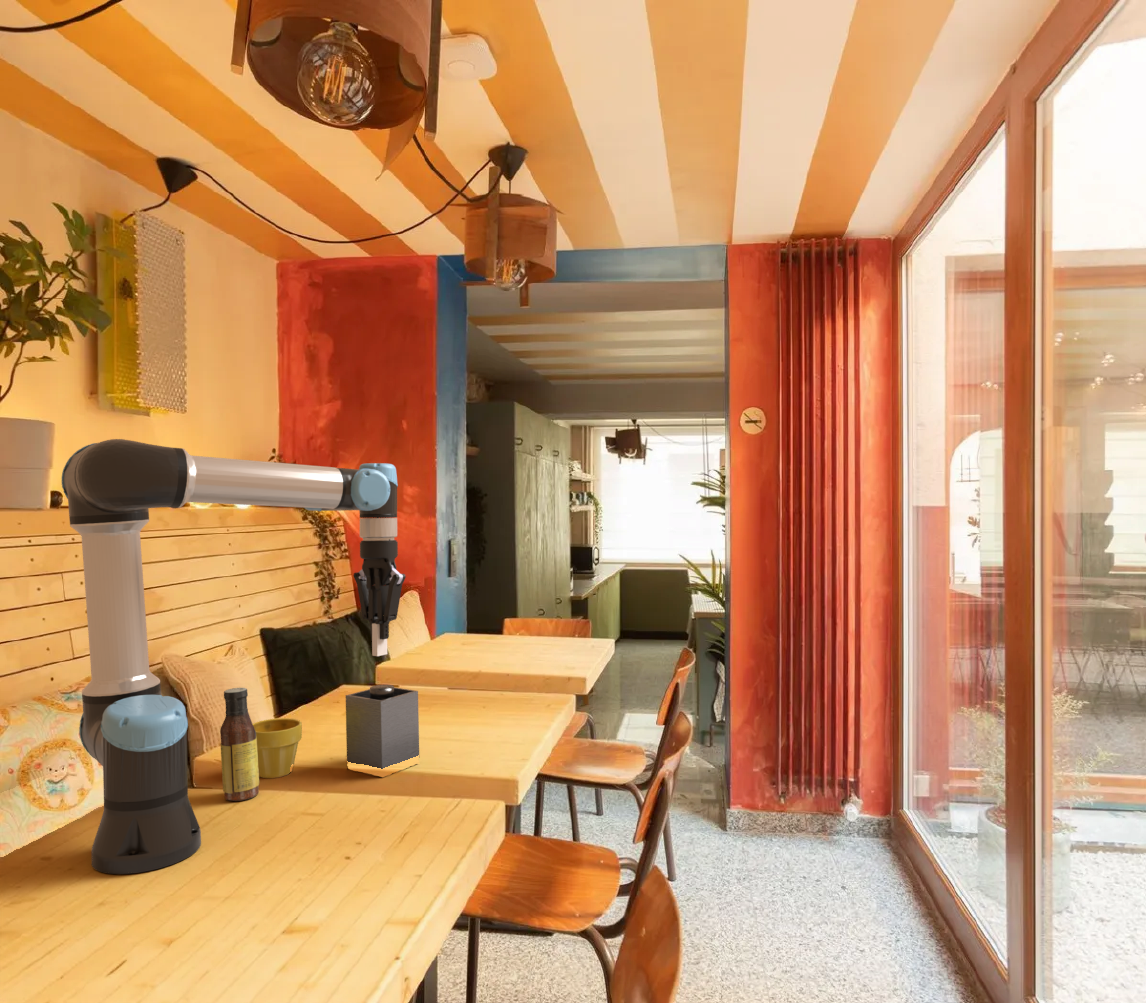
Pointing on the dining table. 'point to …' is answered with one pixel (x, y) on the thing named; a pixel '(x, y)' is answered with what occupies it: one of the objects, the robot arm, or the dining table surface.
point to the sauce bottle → (238, 748)
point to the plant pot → (277, 745)
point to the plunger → (381, 692)
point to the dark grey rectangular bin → (382, 728)
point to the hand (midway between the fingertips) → (379, 654)
